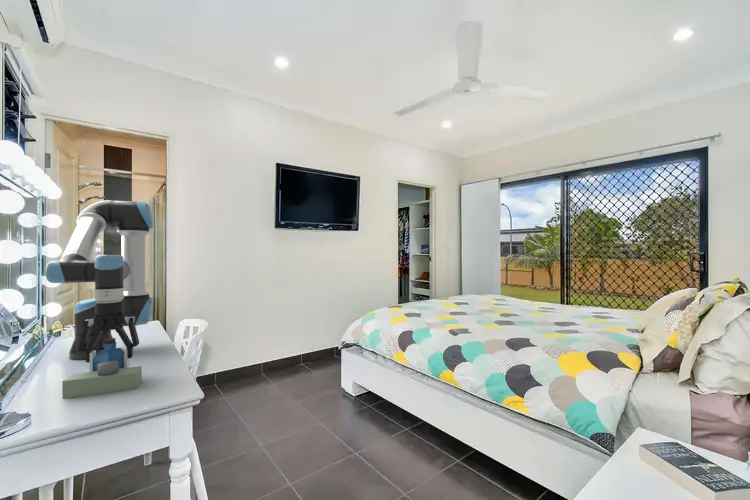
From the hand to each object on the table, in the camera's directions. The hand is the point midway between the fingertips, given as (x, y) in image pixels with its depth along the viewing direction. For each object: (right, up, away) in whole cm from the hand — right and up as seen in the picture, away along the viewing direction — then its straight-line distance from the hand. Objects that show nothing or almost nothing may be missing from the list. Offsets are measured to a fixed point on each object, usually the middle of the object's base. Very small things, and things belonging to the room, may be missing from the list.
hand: (110, 369), depth 113 cm
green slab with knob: (+2, -3, -3) cm, 5 cm away
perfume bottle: (0, -2, 0) cm, 2 cm away
